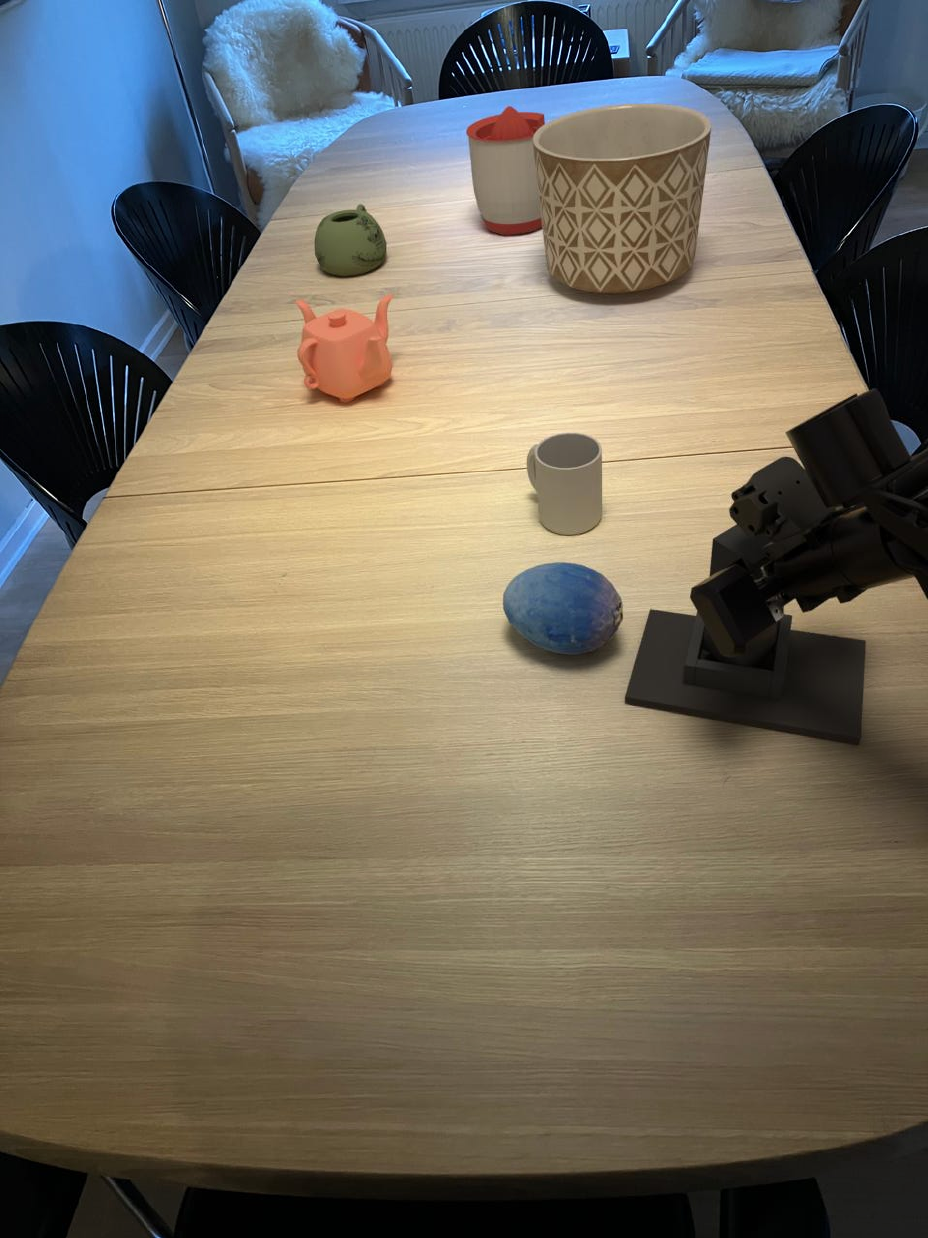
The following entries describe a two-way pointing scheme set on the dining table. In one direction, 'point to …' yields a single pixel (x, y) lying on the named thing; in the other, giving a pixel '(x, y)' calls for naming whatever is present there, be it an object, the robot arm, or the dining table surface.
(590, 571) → the blue oval fruit
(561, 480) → the cup
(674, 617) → the base pad
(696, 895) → the dining table surface
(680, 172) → the planter
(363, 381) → the teapot
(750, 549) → the pad block
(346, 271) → the green round vase
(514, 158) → the citrus juicer
